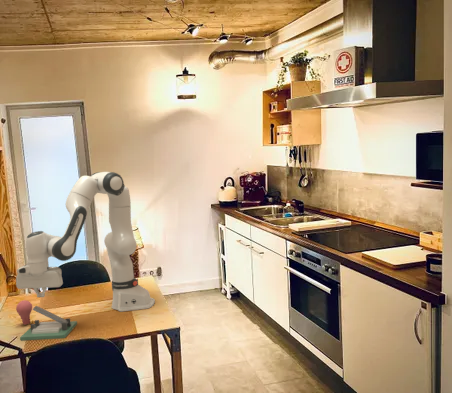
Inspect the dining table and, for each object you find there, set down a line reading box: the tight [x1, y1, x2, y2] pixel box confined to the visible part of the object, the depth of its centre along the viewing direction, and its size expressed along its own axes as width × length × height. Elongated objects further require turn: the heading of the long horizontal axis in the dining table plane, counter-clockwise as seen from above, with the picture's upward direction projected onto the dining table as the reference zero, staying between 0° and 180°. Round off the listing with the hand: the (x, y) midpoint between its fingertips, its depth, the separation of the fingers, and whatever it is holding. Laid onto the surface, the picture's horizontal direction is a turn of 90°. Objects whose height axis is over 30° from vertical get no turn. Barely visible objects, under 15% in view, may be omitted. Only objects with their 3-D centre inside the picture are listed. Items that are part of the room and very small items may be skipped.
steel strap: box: [32, 305, 69, 324], centre depth 211 cm, size 17×3×2 cm, turn 89°
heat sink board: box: [19, 317, 78, 341], centre depth 211 cm, size 20×16×5 cm
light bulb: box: [15, 299, 33, 326], centre depth 222 cm, size 7×7×12 cm
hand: (41, 296), depth 210 cm, fingers closed
